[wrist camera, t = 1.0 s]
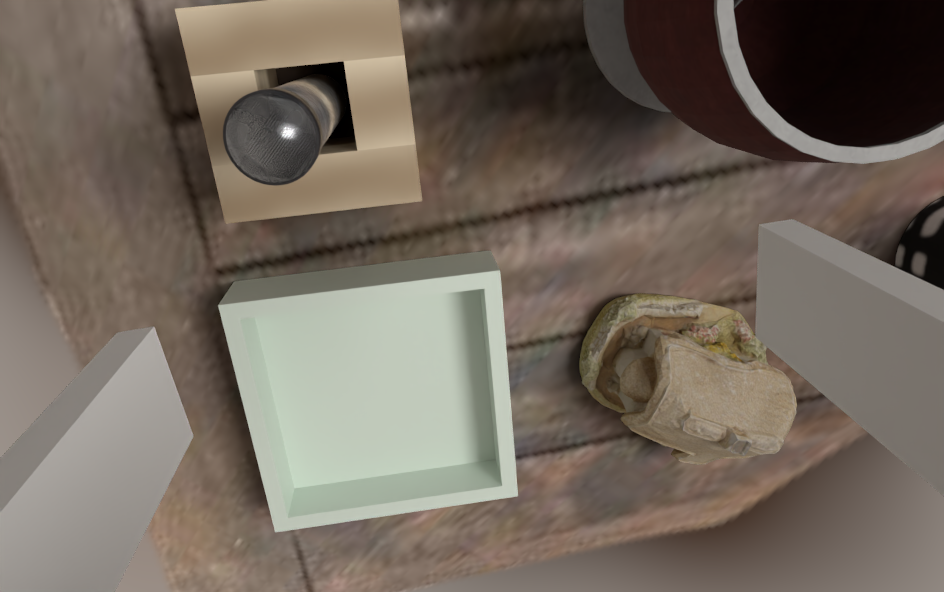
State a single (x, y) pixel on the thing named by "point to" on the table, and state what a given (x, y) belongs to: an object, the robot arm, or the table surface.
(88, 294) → the table surface
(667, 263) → the table surface
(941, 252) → the white-spotted black cylinder
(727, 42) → the mate gourd
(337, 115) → the pin
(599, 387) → the ceramic model
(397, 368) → the tray
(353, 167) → the hitch block
